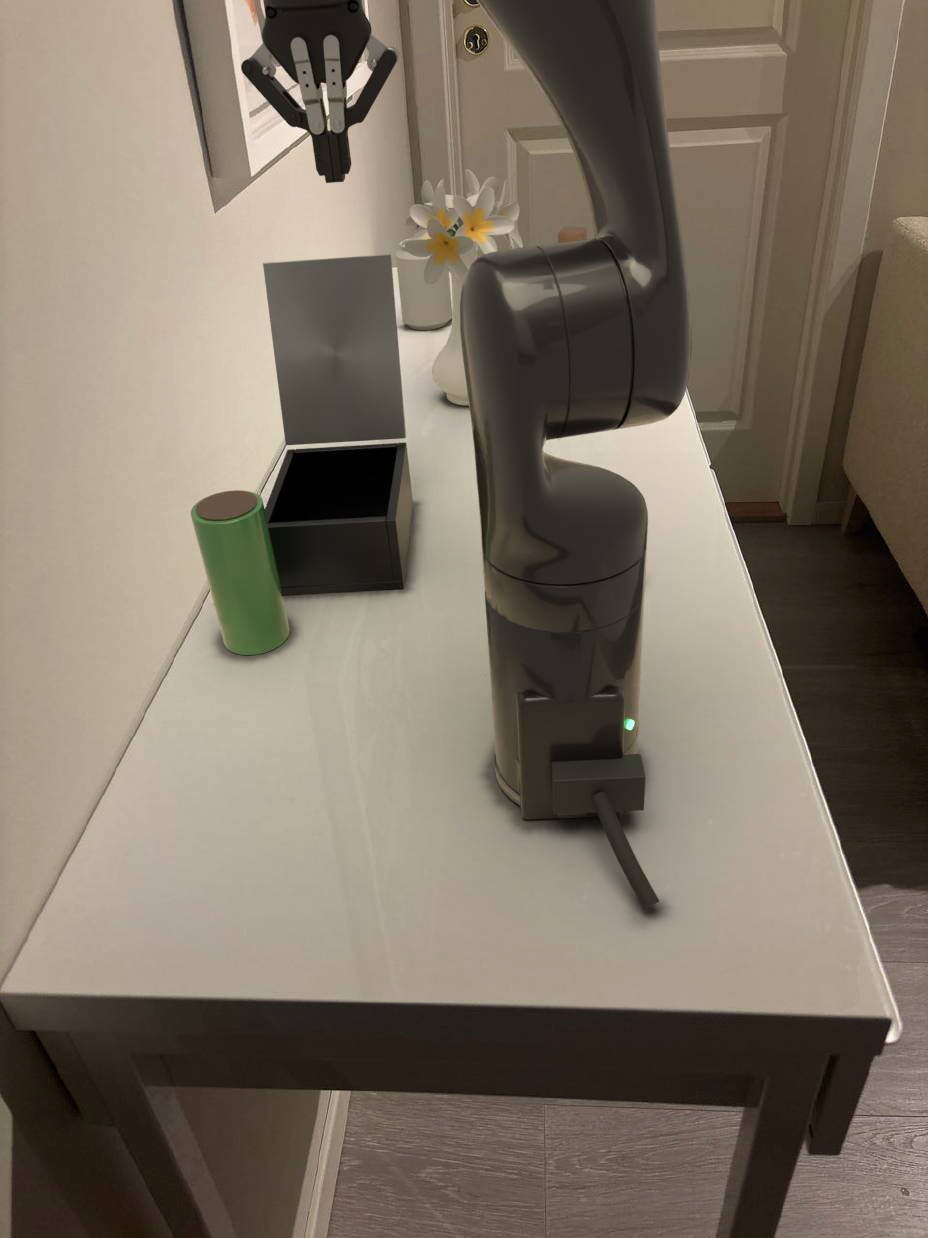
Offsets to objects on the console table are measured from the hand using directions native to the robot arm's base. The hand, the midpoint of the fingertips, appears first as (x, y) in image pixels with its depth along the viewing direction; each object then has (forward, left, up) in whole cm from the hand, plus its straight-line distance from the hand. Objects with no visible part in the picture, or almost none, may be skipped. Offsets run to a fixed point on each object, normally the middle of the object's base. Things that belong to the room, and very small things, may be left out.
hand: (336, 180), depth 81 cm
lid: (-1, +2, -15) cm, 15 cm away
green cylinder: (-24, +8, -30) cm, 39 cm away
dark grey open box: (-10, +2, -30) cm, 32 cm away
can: (+56, -3, -30) cm, 64 cm away
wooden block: (+73, -26, -26) cm, 82 cm away
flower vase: (+25, -10, -30) cm, 40 cm away
